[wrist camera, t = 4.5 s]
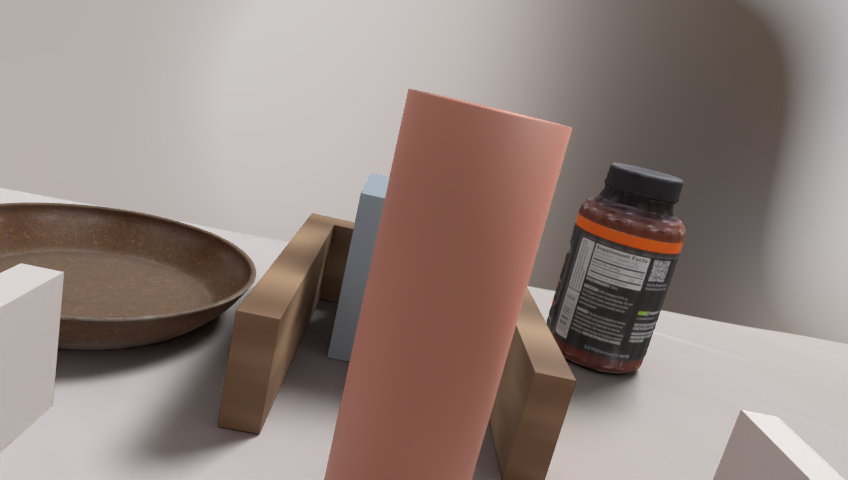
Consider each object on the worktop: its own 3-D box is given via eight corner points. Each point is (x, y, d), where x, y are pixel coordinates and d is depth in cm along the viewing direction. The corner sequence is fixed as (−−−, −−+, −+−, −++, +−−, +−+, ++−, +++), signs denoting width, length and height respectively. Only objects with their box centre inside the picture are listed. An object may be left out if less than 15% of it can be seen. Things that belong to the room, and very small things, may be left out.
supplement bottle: (561, 324, 41) (612, 158, 38) (650, 361, 38) (712, 184, 35) (525, 344, 36) (580, 155, 33) (624, 389, 33) (693, 186, 30)
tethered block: (342, 310, 35) (390, 78, 31) (445, 332, 35) (503, 104, 32) (238, 631, 14) (343, 75, 11) (484, 673, 15) (652, 148, 12)
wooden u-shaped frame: (298, 284, 37) (312, 213, 36) (492, 325, 38) (510, 256, 37) (217, 425, 22) (236, 310, 21) (541, 488, 23) (576, 380, 22)
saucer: (290, 294, 36) (298, 250, 35) (140, 420, 22) (149, 351, 21) (60, 230, 37) (64, 187, 37) (-223, 310, 23) (-226, 242, 22)
